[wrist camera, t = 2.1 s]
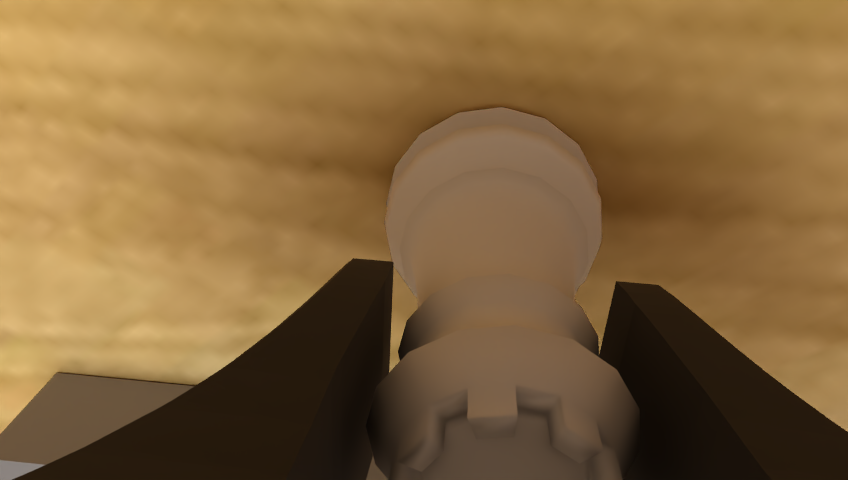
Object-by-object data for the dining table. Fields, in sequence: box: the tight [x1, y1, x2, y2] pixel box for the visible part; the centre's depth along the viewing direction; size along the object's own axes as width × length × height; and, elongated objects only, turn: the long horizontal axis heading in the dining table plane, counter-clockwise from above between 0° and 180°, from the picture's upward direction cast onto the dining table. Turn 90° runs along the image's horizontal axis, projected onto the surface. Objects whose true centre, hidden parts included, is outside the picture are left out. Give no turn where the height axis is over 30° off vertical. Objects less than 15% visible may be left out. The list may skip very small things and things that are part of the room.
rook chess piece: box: [366, 107, 640, 480], centre depth 10 cm, size 4×4×8 cm
